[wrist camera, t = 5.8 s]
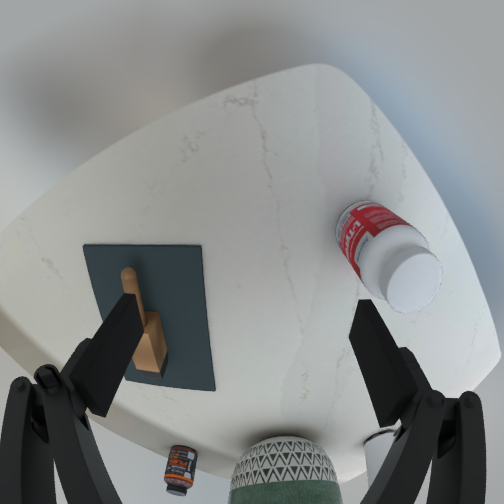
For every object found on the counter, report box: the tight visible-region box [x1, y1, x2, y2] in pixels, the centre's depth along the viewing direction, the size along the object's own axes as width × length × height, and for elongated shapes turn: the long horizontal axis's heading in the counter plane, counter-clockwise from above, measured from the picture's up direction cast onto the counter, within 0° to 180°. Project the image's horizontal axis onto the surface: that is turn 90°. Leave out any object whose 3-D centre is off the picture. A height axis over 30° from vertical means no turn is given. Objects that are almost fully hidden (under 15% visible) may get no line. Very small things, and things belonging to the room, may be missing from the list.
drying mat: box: [82, 245, 216, 391], centre depth 31 cm, size 22×14×1 cm, turn 179°
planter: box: [228, 436, 343, 504], centre depth 33 cm, size 20×20×21 cm
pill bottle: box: [336, 201, 442, 313], centre depth 21 cm, size 6×6×11 cm
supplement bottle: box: [164, 446, 197, 496], centre depth 41 cm, size 6×6×11 cm
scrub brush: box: [121, 267, 168, 379], centre depth 28 cm, size 15×3×4 cm, turn 179°
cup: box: [364, 430, 396, 488], centre depth 38 cm, size 10×10×13 cm
